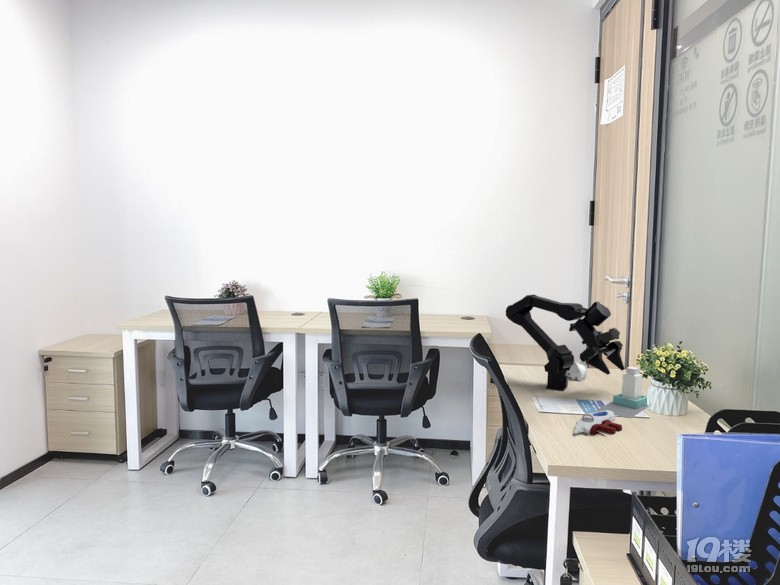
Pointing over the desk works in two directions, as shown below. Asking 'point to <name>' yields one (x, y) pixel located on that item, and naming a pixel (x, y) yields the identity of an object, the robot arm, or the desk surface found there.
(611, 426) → the bracket
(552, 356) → the robot arm
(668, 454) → the desk surface
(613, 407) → the mat
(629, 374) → the grey square bottle
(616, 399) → the holder
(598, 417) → the spaceship
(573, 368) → the elephant figurine
